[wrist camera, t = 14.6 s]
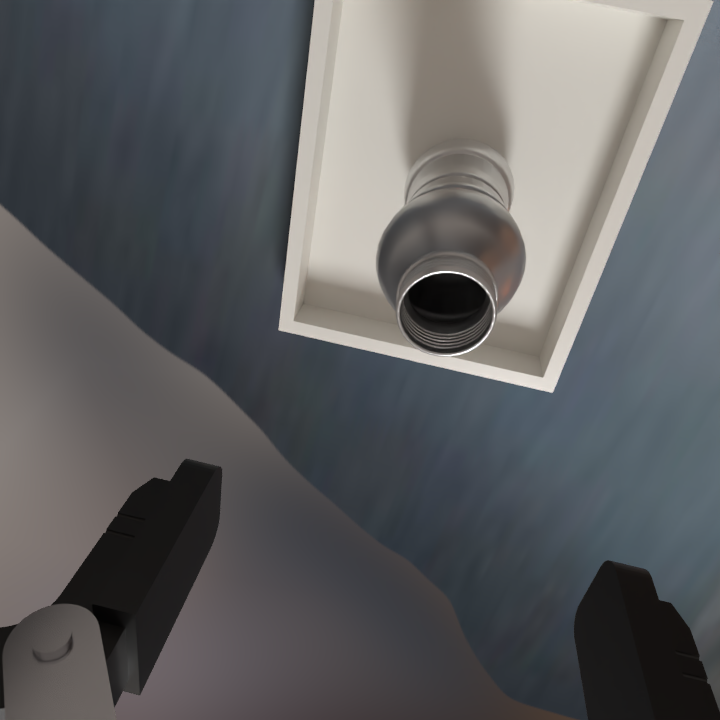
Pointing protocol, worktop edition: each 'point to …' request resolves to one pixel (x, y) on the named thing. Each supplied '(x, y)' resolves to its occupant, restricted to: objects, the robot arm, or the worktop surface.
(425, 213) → the plastic bottle
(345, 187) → the plastic tray
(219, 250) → the worktop surface
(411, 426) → the worktop surface
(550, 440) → the worktop surface
